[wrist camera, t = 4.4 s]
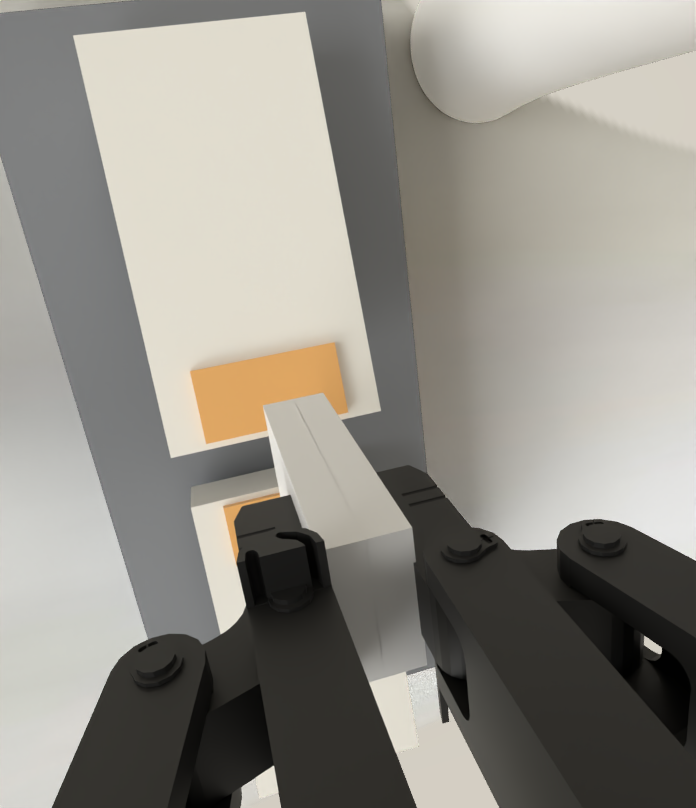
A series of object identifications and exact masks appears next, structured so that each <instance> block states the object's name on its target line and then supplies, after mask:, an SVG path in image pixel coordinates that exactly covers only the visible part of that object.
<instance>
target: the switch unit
mask: <svg viewBox="0 0 696 808" xmlns="http://www.w3.org/2000/svg"><path fill="white" fill-rule="evenodd" d="M298 12H305V13H306V19H307V24H308V29H309V34H310V40H311V45H312V50H313V55H314V61H315V66H316V71H317V76H318V82H319V87H320V92H321V97H322V103H323V108H324V113H325V118H326V124H327V129H328V134H329V140H330V145H331V150H332V155H333V161H334V166H335V171H336V176H337V182H338V187H339V192H340V197H341V203H342V208H343V213H344V218H345V224H346V229H347V234H348V239H349V245H350V250H351V255H352V260H353V266H354V271H355V276H356V282H357V287H358V292H359V297H360V303H361V308H362V313H363V318H364V324H365V329H366V334H367V339H368V345H369V350H370V355H371V360H372V366H373V371H374V376H375V381H376V387H377V392H378V397H379V402H380V408H381V411H379V412H374V413H370V414H365V415H361V416H356V417H352V418H347V419H343V420H342V422H343V423H344V425H345V426H346V428H347V430H348V431H349V433H350V434H351V436H352V437H353V439H354V440H355V442H356V443H357V445H358V446H359V448H360V449H361V451H362V452H363V454H364V455H365V457H366V458H367V460H368V461H369V463H370V464H371V466H372V467H373V469H374V470H375V472H380V471H385V470H389V469H393V468H397V467H402V466H406V465H410V466H412V467H414V468H417V469H419V470H421V471H423V472H425V473H427V467H426V457H425V446H424V436H423V426H422V416H421V405H420V395H419V385H418V375H417V364H416V354H415V344H414V333H413V323H412V313H411V303H410V292H409V282H408V272H407V262H406V251H405V241H404V231H403V221H402V210H401V200H400V190H399V179H398V169H397V159H396V149H395V138H394V128H393V118H392V108H391V97H390V87H389V77H388V67H387V56H386V46H385V36H384V25H383V15H382V5H381V0H134V1H123V2H112V3H102V4H91V5H80V6H70V7H59V8H48V9H38V10H27V11H16V12H6V13H0V156H1V159H2V163H3V166H4V169H5V172H6V176H7V179H8V182H9V185H10V189H11V192H12V195H13V198H14V202H15V205H16V208H17V212H18V215H19V218H20V221H21V225H22V228H23V231H24V234H25V238H26V241H27V244H28V248H29V251H30V254H31V257H32V261H33V264H34V267H35V270H36V274H37V277H38V280H39V284H40V287H41V290H42V293H43V297H44V300H45V303H46V306H47V310H48V313H49V316H50V319H51V323H52V326H53V329H54V333H55V336H56V339H57V342H58V346H59V349H60V352H61V355H62V359H63V362H64V365H65V369H66V372H67V375H68V378H69V382H70V385H71V388H72V391H73V395H74V398H75V401H76V405H77V408H78V411H79V414H80V418H81V421H82V424H83V427H84V431H85V434H86V437H87V440H88V444H89V447H90V450H91V454H92V457H93V460H94V463H95V467H96V470H97V473H98V476H99V480H100V483H101V486H102V490H103V493H104V496H105V499H106V503H107V506H108V509H109V512H110V516H111V519H112V522H113V526H114V529H115V532H116V535H117V539H118V542H119V545H120V548H121V552H122V555H123V558H124V561H125V565H126V568H127V571H128V575H129V578H130V581H131V584H132V588H133V591H134V594H135V597H136V601H137V604H138V607H139V611H140V614H141V617H142V620H143V624H144V627H145V630H146V633H147V637H148V639H150V638H153V637H157V636H161V635H166V634H187V635H189V636H191V637H194V638H196V639H198V640H199V641H200V643H201V644H202V645H203V644H205V643H207V642H208V641H210V640H212V639H214V638H216V637H218V636H219V635H221V634H220V630H219V625H218V621H217V617H216V613H215V608H214V604H213V600H212V596H211V591H210V587H209V583H208V579H207V575H206V570H205V566H204V562H203V558H202V553H201V549H200V545H199V541H198V536H197V532H196V528H195V524H194V520H193V515H192V511H191V487H193V486H198V485H202V484H206V483H210V482H215V481H219V480H223V479H227V478H232V477H236V476H240V475H244V474H249V473H253V472H257V471H262V470H266V469H270V468H274V461H273V456H272V451H271V446H270V441H269V436H267V437H263V438H259V439H254V440H250V441H245V442H241V443H236V444H232V445H227V446H223V447H218V448H214V449H210V450H205V451H201V452H196V453H192V454H187V455H183V456H178V457H174V458H171V457H170V452H169V448H168V444H167V439H166V435H165V431H164V426H163V422H162V418H161V413H160V409H159V405H158V400H157V396H156V392H155V387H154V383H153V379H152V375H151V370H150V366H149V362H148V357H147V353H146V349H145V344H144V340H143V336H142V331H141V327H140V323H139V318H138V314H137V310H136V305H135V301H134V297H133V292H132V288H131V284H130V280H129V275H128V271H127V267H126V262H125V258H124V254H123V249H122V245H121V241H120V236H119V232H118V228H117V223H116V219H115V215H114V210H113V206H112V202H111V197H110V193H109V189H108V185H107V180H106V176H105V172H104V167H103V163H102V159H101V154H100V150H99V146H98V141H97V137H96V133H95V128H94V124H93V120H92V115H91V111H90V107H89V102H88V98H87V94H86V90H85V85H84V81H83V77H82V72H81V68H80V64H79V59H78V55H77V51H76V46H75V42H74V38H73V35H82V34H92V33H101V32H111V31H121V30H131V29H141V28H151V27H160V26H170V25H180V24H190V23H200V22H210V21H219V20H229V19H239V18H249V17H259V16H268V15H278V14H288V13H298ZM425 649H426V658H427V665H426V666H423V667H420V668H416V669H413V670H409V671H406V675H410V674H413V673H416V672H420V671H423V670H426V669H429V668H433V667H435V659H434V657H433V655H432V653H431V651H430V650H429V648H428V646H427V644H426V642H425Z"/></svg>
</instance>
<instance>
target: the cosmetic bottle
mask: <svg viewBox="0 0 696 808" xmlns="http://www.w3.org/2000/svg"><path fill="white" fill-rule="evenodd" d="M410 47H411V57H412V63H413V67H414V71H415V74H416V77H417V79H418V82H419V84H420V86H421V88H422V90H423V91H424V93H425V94H426V96H427V97H428V99H429V100H430V101H431V102H432V103H433V104H434V105H435V106H436V107H437V108H438V109H439V110H440V111H442V112H443V113H445V114H446V115H448V116H450V117H452V118H454V119H457V120H460V121H463V122H469V123H483V122H489V121H493V120H496V119H498V118H501V117H503V116H505V115H507V114H508V113H510V112H512V111H513V110H515V109H517V108H519V107H521V106H522V105H524V104H527V103H529V102H531V101H533V100H535V99H538V98H540V97H542V96H545V95H548V94H550V93H553V92H556V91H559V90H561V89H564V88H568V87H571V86H574V85H577V84H580V83H583V82H586V81H590V80H593V79H597V78H600V77H604V76H607V75H610V74H614V73H617V72H621V71H624V70H628V69H631V68H635V67H639V66H642V65H646V64H649V63H653V62H656V61H660V60H664V59H667V58H671V57H674V56H678V55H682V54H685V53H689V52H692V51H696V0H420V1H419V3H418V6H417V9H416V11H415V14H414V18H413V22H412V29H411V40H410Z"/></svg>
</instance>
